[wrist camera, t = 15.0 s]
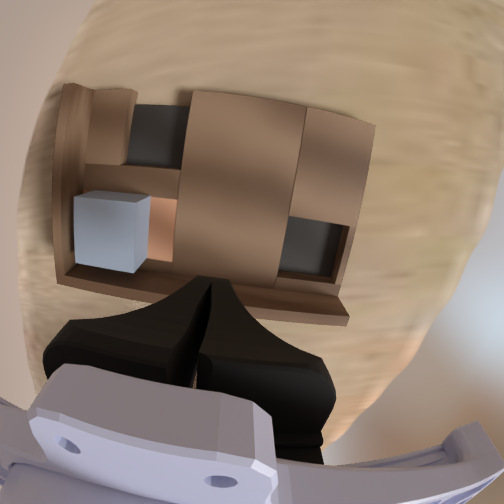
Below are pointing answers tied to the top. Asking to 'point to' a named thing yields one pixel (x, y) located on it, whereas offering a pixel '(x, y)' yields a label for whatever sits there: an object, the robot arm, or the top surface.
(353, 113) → the top surface
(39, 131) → the top surface
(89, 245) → the block
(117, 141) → the board
